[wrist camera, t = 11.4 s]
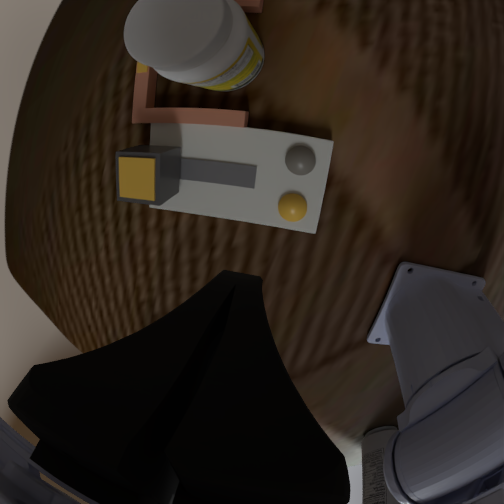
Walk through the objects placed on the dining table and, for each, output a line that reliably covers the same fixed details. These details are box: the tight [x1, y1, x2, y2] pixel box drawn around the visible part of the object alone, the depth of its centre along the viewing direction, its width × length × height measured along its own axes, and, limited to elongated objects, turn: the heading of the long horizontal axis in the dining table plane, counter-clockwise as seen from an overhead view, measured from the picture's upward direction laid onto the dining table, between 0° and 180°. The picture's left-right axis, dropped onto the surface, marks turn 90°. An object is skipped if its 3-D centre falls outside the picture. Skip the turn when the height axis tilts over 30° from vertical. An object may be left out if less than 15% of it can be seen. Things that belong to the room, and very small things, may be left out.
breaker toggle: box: [116, 145, 181, 206], centre depth 16 cm, size 3×3×3 cm
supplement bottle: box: [124, 0, 264, 91], centre depth 10 cm, size 5×5×8 cm
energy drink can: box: [361, 426, 401, 504], centre depth 24 cm, size 6×6×15 cm
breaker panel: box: [150, 123, 334, 234], centre depth 17 cm, size 12×6×1 cm, turn 84°
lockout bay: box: [132, 0, 263, 128], centre depth 14 cm, size 8×9×1 cm
